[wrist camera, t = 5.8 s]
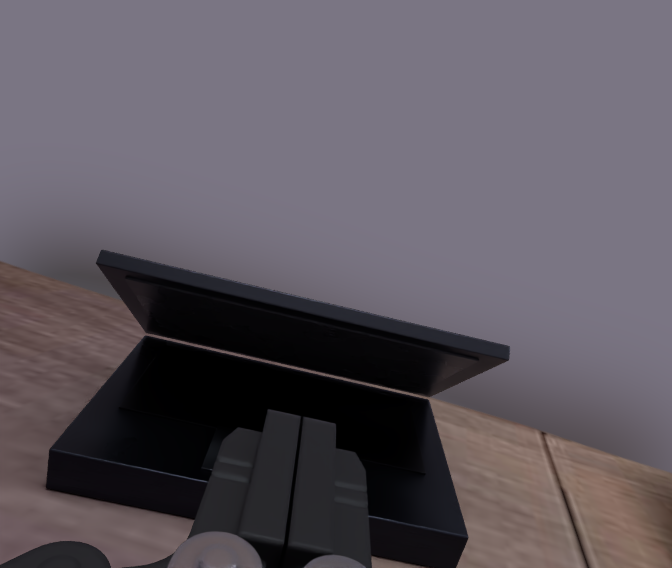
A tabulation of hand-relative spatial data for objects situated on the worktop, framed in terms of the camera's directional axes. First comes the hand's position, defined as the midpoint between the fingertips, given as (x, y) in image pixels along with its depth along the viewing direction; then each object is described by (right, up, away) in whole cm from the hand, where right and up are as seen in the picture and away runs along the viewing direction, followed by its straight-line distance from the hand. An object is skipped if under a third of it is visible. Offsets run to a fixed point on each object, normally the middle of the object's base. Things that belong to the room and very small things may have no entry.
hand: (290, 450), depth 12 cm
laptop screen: (-1, +1, +13) cm, 13 cm away
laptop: (-2, -4, +14) cm, 14 cm away
